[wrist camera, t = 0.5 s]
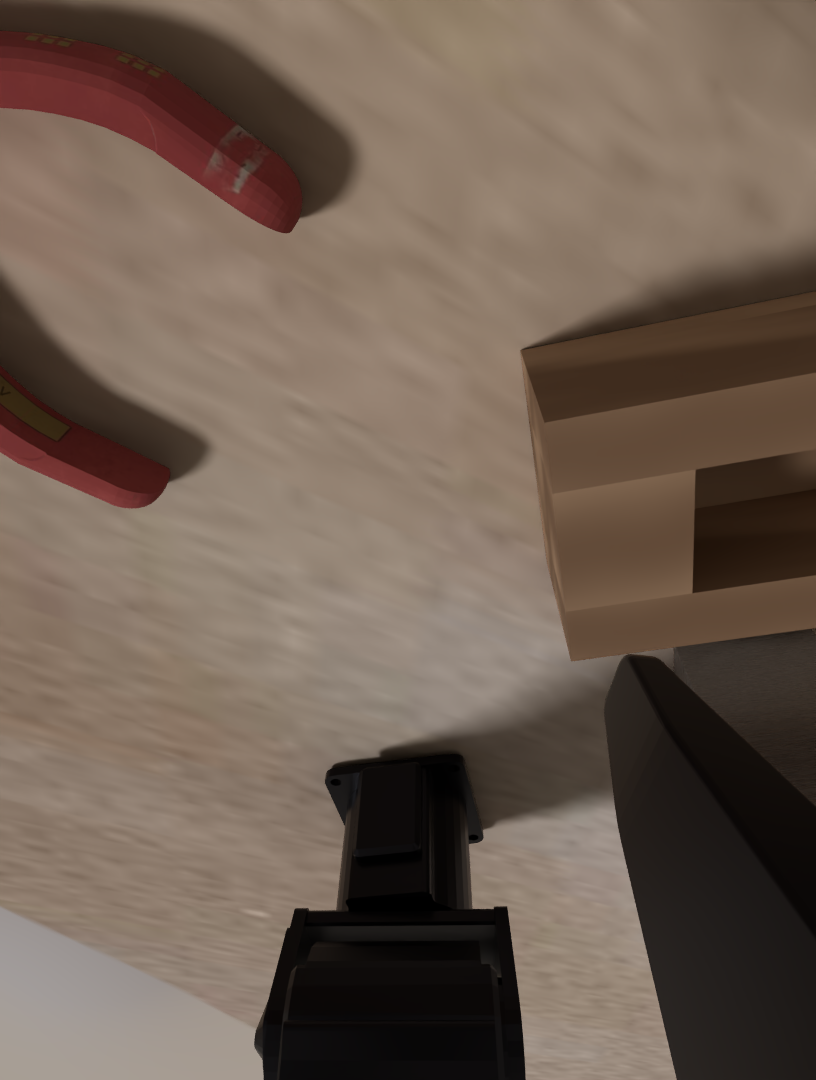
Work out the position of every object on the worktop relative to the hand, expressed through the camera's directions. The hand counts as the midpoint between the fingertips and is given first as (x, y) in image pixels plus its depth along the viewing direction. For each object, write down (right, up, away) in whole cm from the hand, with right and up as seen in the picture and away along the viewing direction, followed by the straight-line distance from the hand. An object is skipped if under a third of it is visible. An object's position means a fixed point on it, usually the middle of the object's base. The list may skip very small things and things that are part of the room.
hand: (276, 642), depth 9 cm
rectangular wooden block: (+13, +5, +13) cm, 19 cm away
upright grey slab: (+15, -3, +18) cm, 24 cm away
